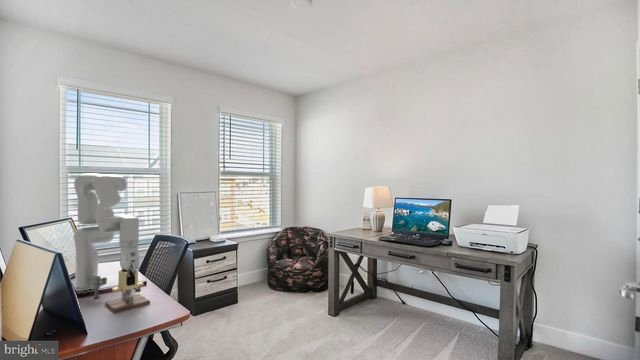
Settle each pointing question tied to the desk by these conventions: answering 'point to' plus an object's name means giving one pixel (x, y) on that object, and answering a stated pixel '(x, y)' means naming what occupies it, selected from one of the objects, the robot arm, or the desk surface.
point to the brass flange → (123, 281)
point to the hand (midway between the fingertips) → (128, 283)
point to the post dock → (127, 302)
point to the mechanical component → (96, 283)
